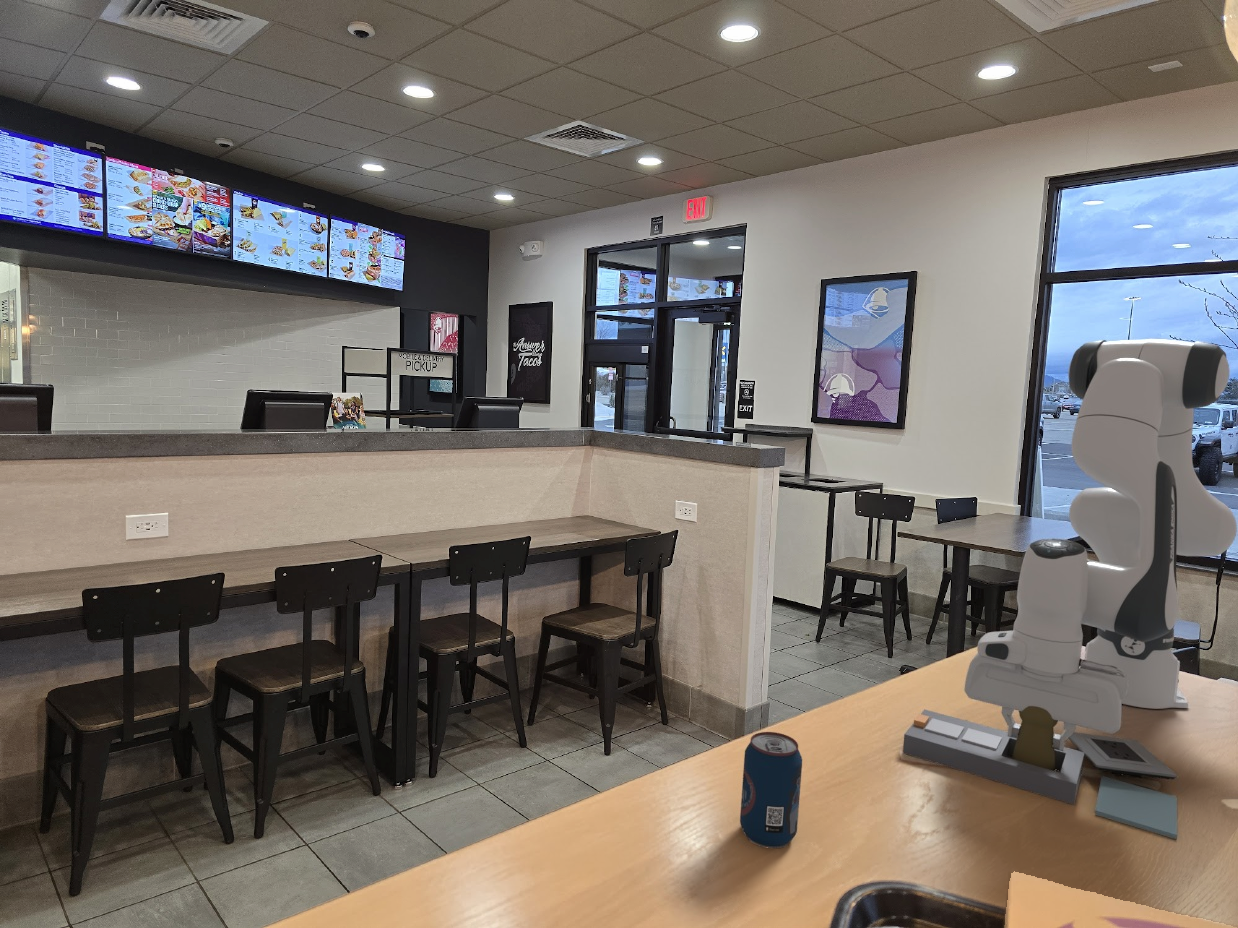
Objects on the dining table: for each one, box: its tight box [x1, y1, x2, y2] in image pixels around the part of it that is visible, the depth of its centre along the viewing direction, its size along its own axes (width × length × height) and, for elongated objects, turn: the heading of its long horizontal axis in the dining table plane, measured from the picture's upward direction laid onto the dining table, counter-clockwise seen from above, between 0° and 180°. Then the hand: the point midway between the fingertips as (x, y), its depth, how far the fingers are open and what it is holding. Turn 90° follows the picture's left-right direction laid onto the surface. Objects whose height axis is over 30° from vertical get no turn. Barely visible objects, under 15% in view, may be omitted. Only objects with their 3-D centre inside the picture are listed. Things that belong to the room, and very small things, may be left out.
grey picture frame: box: [1067, 731, 1178, 780], centre depth 119 cm, size 13×10×2 cm
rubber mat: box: [1094, 775, 1178, 840], centre depth 108 cm, size 12×9×1 cm
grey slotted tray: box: [902, 709, 1085, 806], centre depth 119 cm, size 12×23×4 cm, turn 55°
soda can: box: [739, 731, 803, 849], centre depth 96 cm, size 7×7×12 cm
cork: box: [1011, 706, 1059, 771], centre depth 115 cm, size 6×6×11 cm
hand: (1035, 742), depth 116 cm, fingers closed on cork, 4 cm apart
